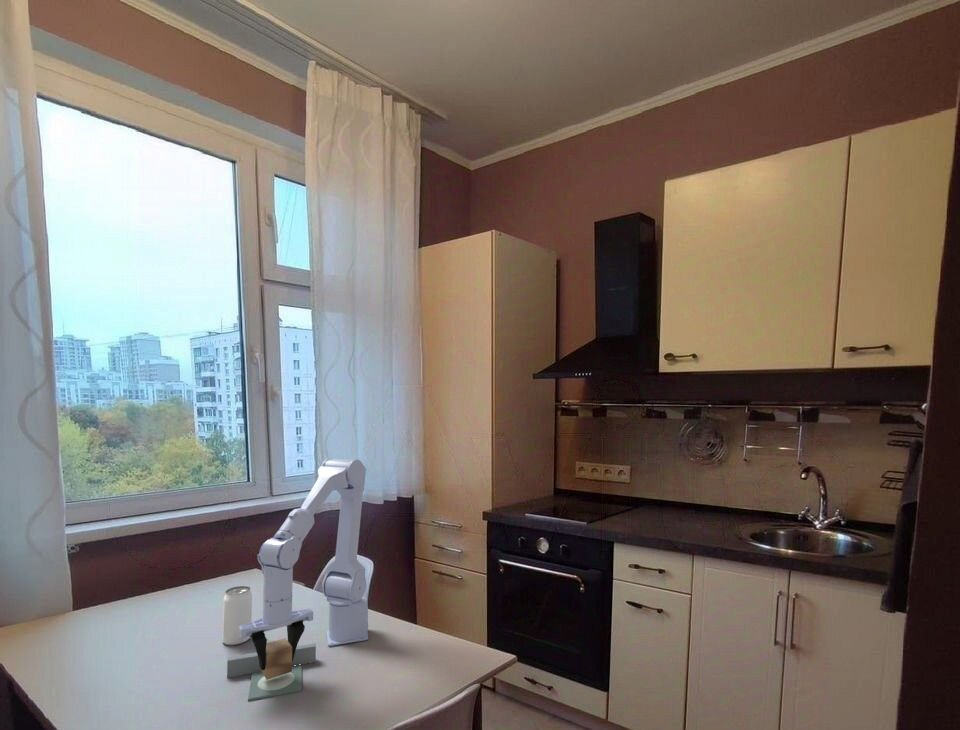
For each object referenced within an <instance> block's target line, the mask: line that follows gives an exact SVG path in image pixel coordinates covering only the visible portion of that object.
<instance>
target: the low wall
mask: <svg viewBox="0 0 960 730" xmlns="http://www.w3.org/2000/svg"><path fill="white" fill-rule="evenodd" d="M316 649H317V645H316V643H309V644H308V643H307V644H302V645H297V647H296V651H295V654H294V659H293V661H292V666H294V665H299V664H303V665H307V663H309V664H313V663H312V662H315V663H316V662H317V661H316V658H317V656H316V654H317V653H316V652H317V650H316ZM226 663H227V664H226V669H227V670H226V678H228V679H229V678H234V677H240V676H245V674H246V675H252V674H251V673H256V672H262V671H261V668H260V667H259V659H258V655H257V652H254V653H247V654H242V655H235V656H234V655H233V656H229V657H227V662H226Z"/></svg>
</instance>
